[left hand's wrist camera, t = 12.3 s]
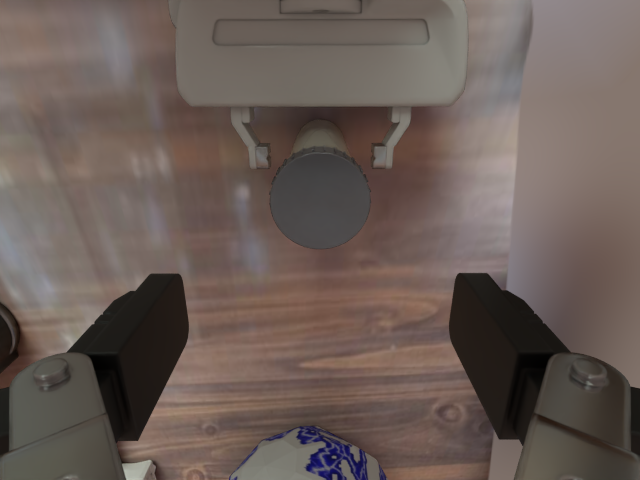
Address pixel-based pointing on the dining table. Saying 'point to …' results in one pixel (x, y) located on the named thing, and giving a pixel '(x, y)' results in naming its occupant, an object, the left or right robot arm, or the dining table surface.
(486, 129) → the dining table surface
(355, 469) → the ornament
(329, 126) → the bottle
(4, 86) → the dining table surface
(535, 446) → the left robot arm
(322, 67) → the right robot arm
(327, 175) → the lid
